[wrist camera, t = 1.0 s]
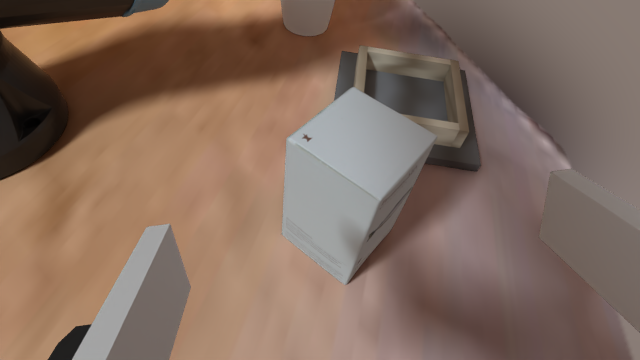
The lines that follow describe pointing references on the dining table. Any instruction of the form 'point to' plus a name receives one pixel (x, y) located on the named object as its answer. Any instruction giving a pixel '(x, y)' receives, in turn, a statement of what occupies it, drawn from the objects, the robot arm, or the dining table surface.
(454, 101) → the keeper cradle
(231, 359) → the dining table surface
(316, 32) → the foam cup
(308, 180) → the supplement box
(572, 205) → the robot arm
